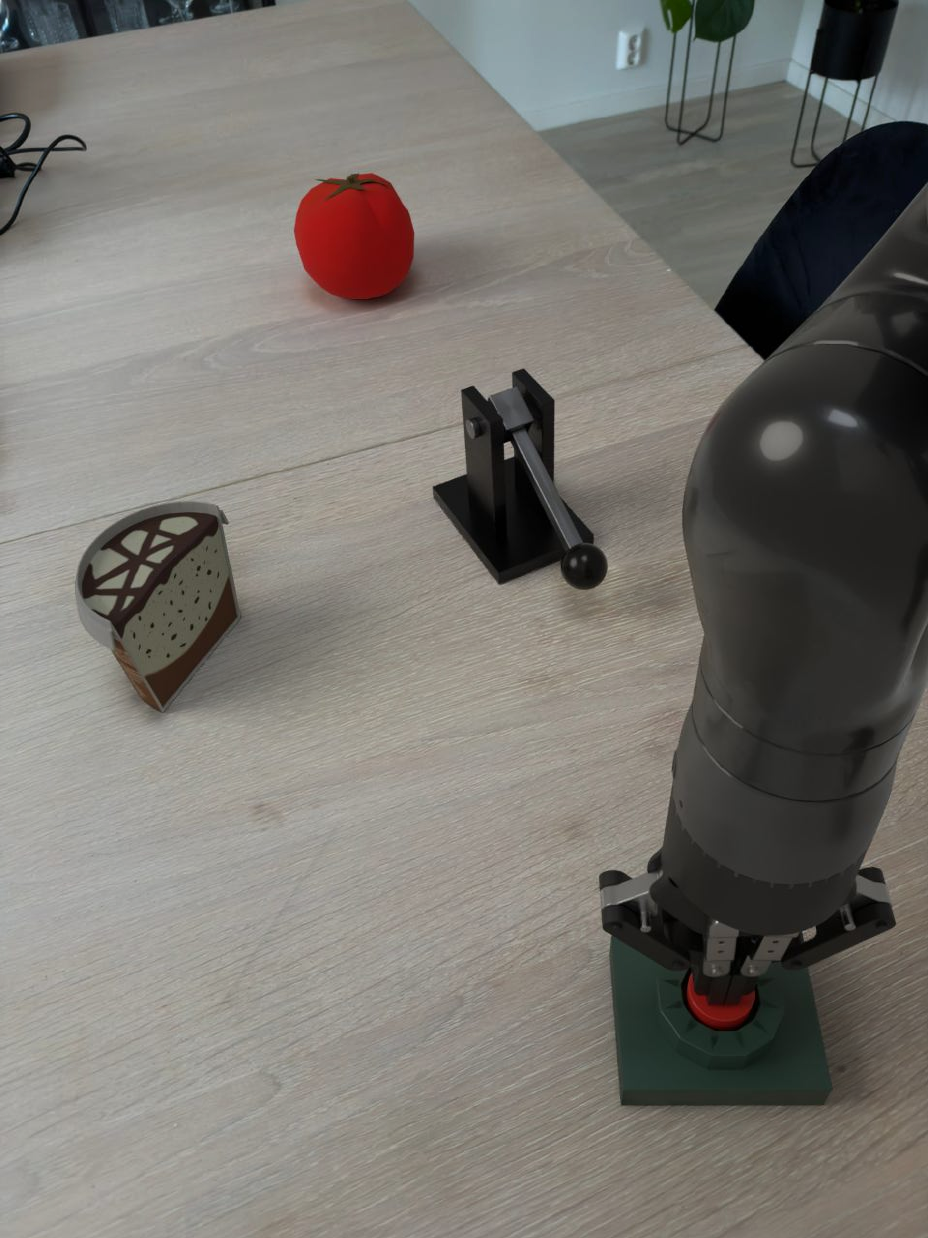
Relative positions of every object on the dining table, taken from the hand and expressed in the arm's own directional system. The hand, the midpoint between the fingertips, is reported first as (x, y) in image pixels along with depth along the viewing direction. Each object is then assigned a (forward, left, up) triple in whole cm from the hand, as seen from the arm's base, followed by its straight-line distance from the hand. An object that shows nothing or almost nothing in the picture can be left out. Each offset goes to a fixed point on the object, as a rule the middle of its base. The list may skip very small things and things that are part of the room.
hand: (719, 986), depth 54 cm
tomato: (+70, -34, -5) cm, 78 cm away
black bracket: (+35, -20, -4) cm, 40 cm away
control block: (0, 0, -4) cm, 5 cm away
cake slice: (+43, +6, -5) cm, 44 cm away
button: (0, 0, -2) cm, 2 cm away
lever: (+30, -19, +1) cm, 36 cm away
